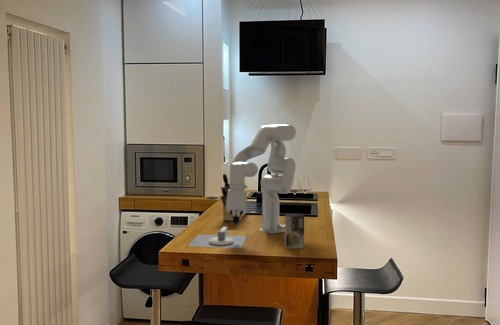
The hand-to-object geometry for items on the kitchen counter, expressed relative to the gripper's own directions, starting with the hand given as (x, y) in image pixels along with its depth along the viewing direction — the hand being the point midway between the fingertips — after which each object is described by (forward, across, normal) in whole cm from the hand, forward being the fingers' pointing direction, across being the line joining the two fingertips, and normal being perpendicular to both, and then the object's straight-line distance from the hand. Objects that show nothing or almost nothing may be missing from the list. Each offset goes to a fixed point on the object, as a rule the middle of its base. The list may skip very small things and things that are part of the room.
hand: (236, 223), depth 255 cm
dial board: (+10, +8, +2) cm, 14 cm away
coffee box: (+10, -30, +2) cm, 31 cm away
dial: (+9, +7, +2) cm, 11 cm away
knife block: (+9, +10, -61) cm, 63 cm away
